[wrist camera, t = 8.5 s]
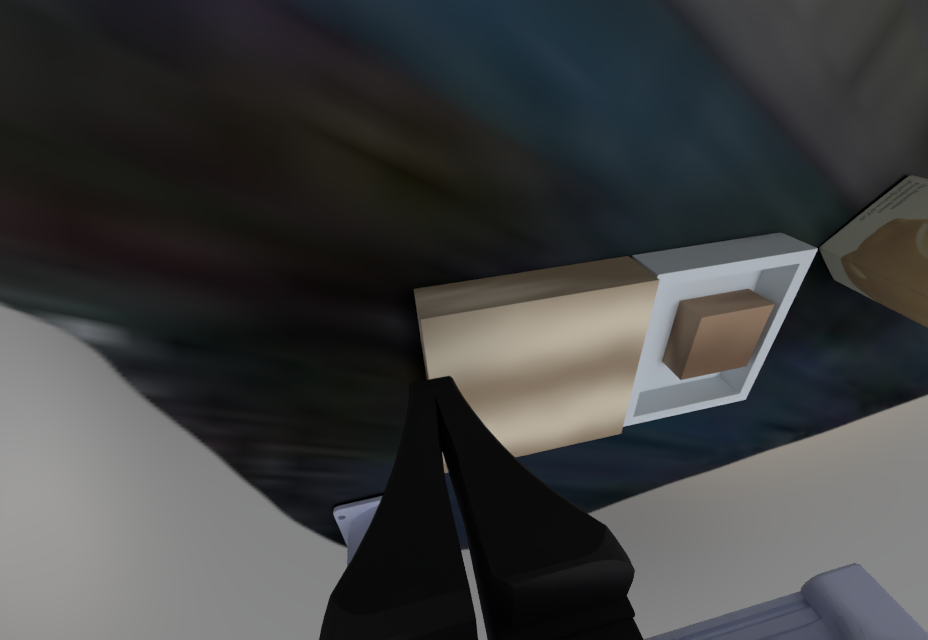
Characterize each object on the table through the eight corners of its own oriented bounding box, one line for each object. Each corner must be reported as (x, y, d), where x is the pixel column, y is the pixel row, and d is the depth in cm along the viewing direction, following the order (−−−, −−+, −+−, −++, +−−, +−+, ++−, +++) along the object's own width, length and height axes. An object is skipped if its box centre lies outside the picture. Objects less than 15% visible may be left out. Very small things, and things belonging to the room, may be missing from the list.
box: (720, 377, 31) (745, 399, 29) (602, 401, 30) (620, 427, 28) (780, 232, 25) (818, 248, 23) (632, 255, 23) (658, 274, 21)
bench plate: (599, 402, 30) (621, 433, 27) (435, 437, 28) (442, 473, 26) (628, 255, 23) (659, 279, 21) (413, 289, 21) (420, 319, 19)
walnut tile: (680, 380, 26) (662, 361, 28) (746, 366, 27) (724, 348, 29) (701, 317, 24) (679, 300, 25) (774, 304, 24) (748, 288, 26)
